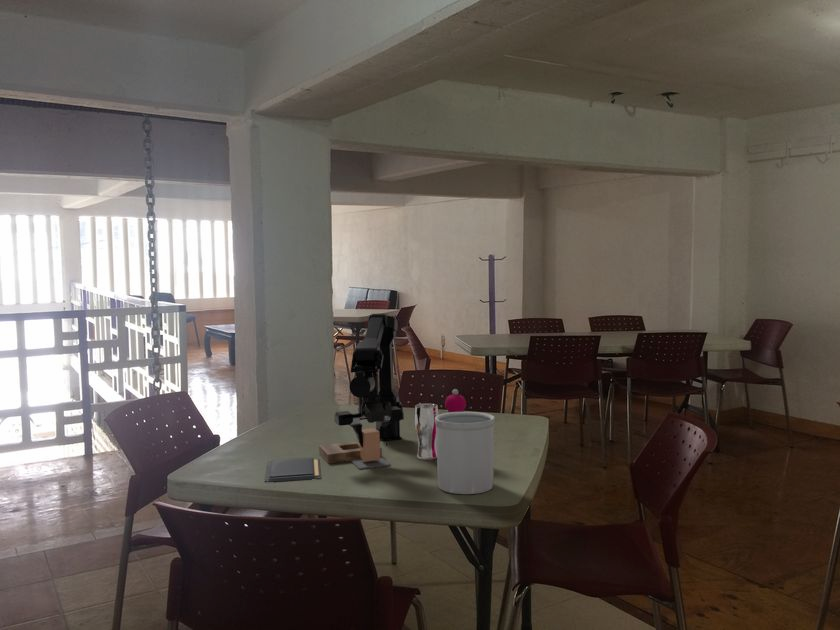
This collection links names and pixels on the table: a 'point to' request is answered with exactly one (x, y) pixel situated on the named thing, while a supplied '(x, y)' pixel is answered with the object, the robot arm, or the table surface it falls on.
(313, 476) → the dark blue flat slab
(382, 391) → the robot arm
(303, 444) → the table surface
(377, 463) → the pad
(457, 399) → the pepper mill
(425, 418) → the beer glass
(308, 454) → the table surface
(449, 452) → the utensil holder
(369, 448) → the block
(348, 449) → the pocket board
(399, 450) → the table surface
